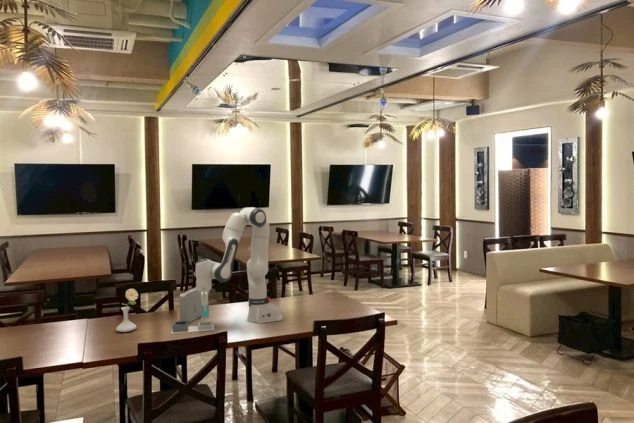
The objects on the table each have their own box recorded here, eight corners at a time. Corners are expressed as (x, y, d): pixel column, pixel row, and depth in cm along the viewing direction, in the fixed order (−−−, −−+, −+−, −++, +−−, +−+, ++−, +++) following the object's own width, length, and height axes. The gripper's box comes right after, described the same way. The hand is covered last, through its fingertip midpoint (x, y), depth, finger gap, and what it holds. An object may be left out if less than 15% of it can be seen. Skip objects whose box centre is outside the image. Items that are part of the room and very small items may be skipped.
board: (213, 327, 296) (213, 324, 296) (214, 332, 286) (213, 329, 286) (172, 330, 291) (172, 327, 291) (171, 335, 280) (171, 333, 280)
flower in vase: (118, 334, 284) (116, 292, 283) (114, 330, 294) (112, 288, 293) (141, 330, 291) (139, 289, 290) (137, 326, 301) (135, 286, 300)
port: (188, 327, 292) (188, 320, 292) (187, 331, 284) (187, 324, 283) (173, 328, 290) (173, 321, 290) (172, 332, 282) (172, 325, 282)
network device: (189, 328, 295) (188, 295, 294) (176, 327, 297) (174, 294, 296) (207, 316, 320) (206, 286, 319) (194, 316, 322) (193, 286, 321)
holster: (212, 325, 295) (211, 321, 295) (212, 329, 287) (212, 325, 287) (198, 326, 293) (198, 322, 293) (198, 330, 285) (197, 326, 285)
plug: (209, 315, 292) (208, 301, 292) (209, 317, 288) (208, 302, 288) (202, 316, 291) (201, 301, 291) (202, 317, 288) (201, 303, 287)
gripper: (209, 289, 279) (210, 313, 280) (209, 282, 299) (210, 305, 300) (198, 290, 278) (199, 314, 279) (198, 283, 298) (200, 306, 299)
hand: (205, 309), depth 290 cm, fingers closed on plug, 4 cm apart
